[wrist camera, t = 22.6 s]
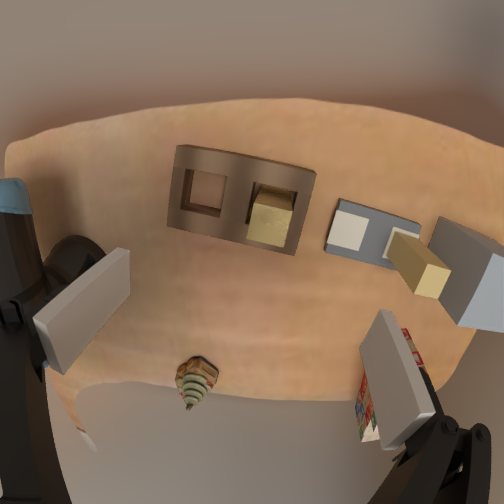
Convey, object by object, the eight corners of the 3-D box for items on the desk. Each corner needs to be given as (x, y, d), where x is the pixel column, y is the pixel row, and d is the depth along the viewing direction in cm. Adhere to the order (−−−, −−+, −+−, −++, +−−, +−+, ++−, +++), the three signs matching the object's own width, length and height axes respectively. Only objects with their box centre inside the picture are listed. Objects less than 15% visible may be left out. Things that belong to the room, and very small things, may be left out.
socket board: (176, 218, 37) (166, 226, 33) (186, 144, 32) (176, 145, 29) (293, 245, 36) (294, 255, 33) (313, 170, 32) (316, 173, 29)
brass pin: (257, 211, 35) (246, 238, 26) (262, 184, 34) (253, 202, 24) (284, 217, 35) (283, 247, 26) (290, 191, 33) (292, 211, 24)
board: (322, 248, 36) (335, 292, 26) (337, 197, 33) (360, 224, 23) (401, 268, 35) (433, 313, 25) (419, 223, 33) (460, 256, 22)
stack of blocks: (382, 403, 47) (392, 449, 36) (354, 407, 48) (361, 455, 37) (406, 327, 39) (431, 380, 28) (372, 330, 40) (391, 388, 29)
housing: (417, 272, 35) (456, 325, 24) (439, 216, 32) (493, 252, 20) (475, 289, 35) (514, 333, 23) (496, 241, 31) (543, 277, 19)
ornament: (200, 385, 50) (187, 425, 41) (175, 368, 49) (157, 407, 40) (224, 369, 47) (212, 412, 38) (197, 350, 46) (180, 393, 37)
